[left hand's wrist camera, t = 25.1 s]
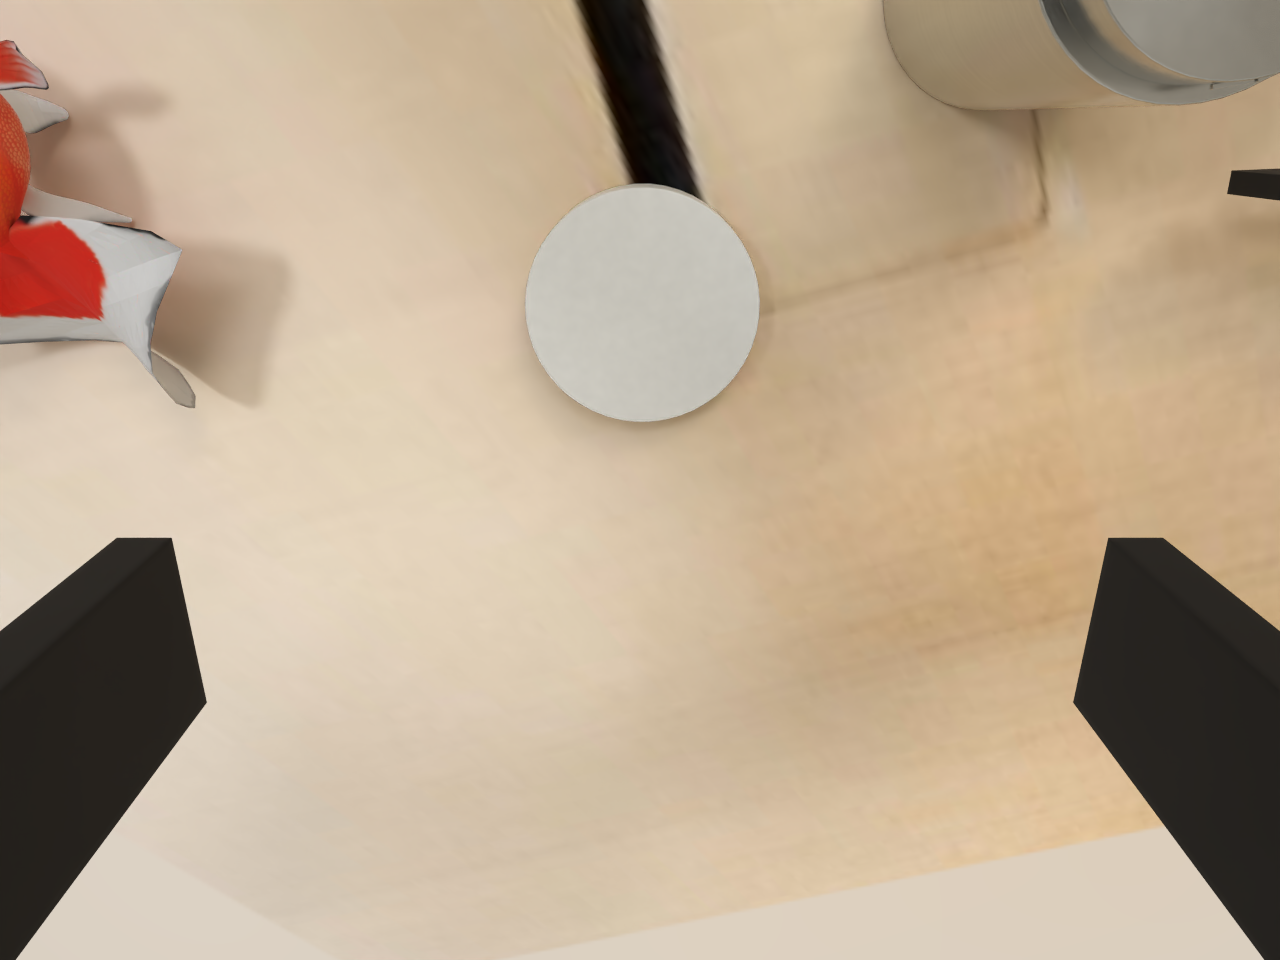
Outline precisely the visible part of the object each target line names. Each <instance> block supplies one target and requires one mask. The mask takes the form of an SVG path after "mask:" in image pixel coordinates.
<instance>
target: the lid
mask: <svg viewBox="0 0 1280 960" xmlns="http://www.w3.org/2000/svg"><path fill="white" fill-rule="evenodd" d="M759 310H760V298H759V286H758V282H757V277H756V273H755V270H754V267H753V264H752V261H751V259H750V256H749V254H748V252H747V250H746V249H745V247H744V245H743V243H742V241H741V240H740V239H739V237H738V236H737V234H736V233H735V232H734V230H733V229H732V228H731V227H730V225H729V224H728V223H727V222H726V221H725V220H724V219H723V218H722V217H721V216H720V215H719V214H718V213H717V212H716V211H715V210H714V209H712V208H711V207H710V206H709V205H707V204H706V203H704V202H703V201H701V200H699V199H698V198H696V197H694V196H693V195H690V194H688V193H686V192H683V191H681V190H678V189H675V188H671V187H668V186H663V185H656V184H629V185H622V186H617V187H614V188H610V189H607V190H604V191H601V192H599V193H597V194H595V195H592V196H590V197H589V198H587V199H585V200H584V201H582V202H580V203H579V204H577V205H576V206H575V207H574V208H572V209H571V210H570V211H569V212H568V213H566V214H565V215H564V217H563V218H562V219H561V220H560V221H559V222H558V223H557V224H556V225H555V226H554V228H553V229H552V230H551V232H550V233H549V234H548V236H547V237H546V239H545V240H544V242H543V243H542V245H541V247H540V248H539V250H538V252H537V254H536V256H535V258H534V261H533V264H532V267H531V270H530V272H529V277H528V282H527V286H526V296H525V313H526V322H527V328H528V333H529V336H530V339H531V343H532V346H533V348H534V351H535V353H536V355H537V357H538V359H539V361H540V363H541V364H542V366H543V367H544V369H545V371H546V372H547V374H548V375H549V376H550V377H551V379H552V380H553V381H554V382H555V383H556V385H557V386H558V387H559V388H561V389H562V390H563V391H564V392H565V393H566V394H567V395H568V396H569V397H571V398H572V399H574V400H575V401H576V402H578V403H579V404H581V405H583V406H585V407H586V408H588V409H590V410H592V411H594V412H597V413H599V414H602V415H604V416H607V417H611V418H615V419H619V420H625V421H634V422H651V421H659V420H666V419H670V418H673V417H677V416H680V415H683V414H685V413H688V412H690V411H693V410H695V409H696V408H698V407H700V406H702V405H704V404H706V403H707V402H708V401H710V400H711V399H712V398H714V397H715V396H716V395H718V394H719V393H720V392H721V391H722V390H723V389H724V388H725V387H726V386H727V385H728V384H729V383H730V382H731V381H732V379H733V378H734V377H735V376H736V375H737V373H738V372H739V370H740V369H741V367H742V365H743V364H744V362H745V361H746V359H747V356H748V354H749V352H750V350H751V348H752V345H753V342H754V339H755V336H756V332H757V327H758V321H759Z"/></svg>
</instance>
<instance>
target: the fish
mask: <svg viewBox="0 0 1280 960" xmlns="http://www.w3.org/2000/svg"><path fill="white" fill-rule="evenodd" d="M18 88H38V89H46V90H47V89H48V88H49V87H48V83H47V81H46V79H45V77H44V75H43V73H42V71H40V70H39V69H38V68H37V67H36V66H35V65H34V64H33V63H32V62H30V61H29V60H28V59H27V58H26V57H25V56H24V55H23V54H22V53H21V51H20V50H19V48H18V47H17V46H16V44H15V43H14V41H9V40H5V41H1V42H0V344H13V343H30V342H47V341H81V340H100V341H113V342H123V343H124V344H125V345H126V346H127V347H128V348H129V349H130V350H131V351H132V352H133V353H134V354H135V356H136V357H137V358H138V359H139V360H140V361H141V363H142V364H143V365H144V367H145V368H146V369H147V371H148V372H149V373H150V374H151V375H152V376H153V377H154V378H155V379H156V380H157V382H158V383H159V384H160V385H161V386H162V388H163V389H164V390H165V391H166V392H167V393H168V395H169V396H170V397H171V398H172V399H173V400H174V401H175V402H176V403H177V404H180V405H182V406H185V407H189V408H195V394H194V392H193V391H192V389H191V387H190V386H189V384H188V382H187V381H186V380H185V378H184V377H183V375H182V374H181V372H180V371H179V370H178V369H177V368H176V367H174V366H173V365H171V364H170V363H169V362H167V361H166V360H164V359H163V358H162V357H160V356H158V355H157V354H155V353H154V352H152V351H151V346H150V345H151V339H152V334H153V329H154V324H155V319H156V313H157V310H158V308H159V305H160V303H161V300H162V298H163V296H164V293H165V291H166V289H167V286H168V284H169V281H170V279H171V277H172V274H173V272H174V269H175V267H176V264H177V262H178V259H179V257H180V255H181V252H182V249H181V248H179V247H177V246H175V245H174V244H172V243H170V242H169V241H167V240H165V239H163V238H162V237H160V236H158V235H157V234H155V233H153V232H151V231H146V230H140V229H135V228H129V227H123V226H117V225H111V224H105V223H99V222H122V223H130V222H132V218H130V217H127V216H124V215H121V214H118V213H115V212H112V211H109V210H107V209H104V208H101V207H98V206H95V205H92V204H89V203H86V202H82V201H78V200H74V199H69V198H65V197H60V196H56V195H53V194H49V193H46V192H44V191H41V190H39V189H36V188H35V187H33V186H31V185H30V184H28V183H29V179H30V169H31V164H30V153H29V147H28V142H27V138H26V134H25V132H28V133H37V132H39V131H41V130H43V129H45V128H47V127H49V126H51V125H53V124H56V123H59V122H62V121H64V120H67V119H68V117H69V115H68V112H67V111H66V110H65V109H64V108H63V107H61V106H58V105H56V104H54V103H51V102H49V101H46V100H43V99H40V98H38V97H35V96H32V95H29V94H26V93H24V92H20V91H16V90H10V89H18ZM21 210H22V211H23V212H25V213H26V214H28V215H30V216H21V215H20V214H21Z"/></svg>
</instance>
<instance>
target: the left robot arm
mask: <svg viewBox="0 0 1280 960" xmlns="http://www.w3.org/2000/svg"><path fill="white" fill-rule="evenodd" d="M206 703H207V701H206V697H205V692H204V687H203V683H202V678H201V673H200V669H199V664H198V659H197V655H196V650H195V645H194V640H193V636H192V631H191V626H190V622H189V617H188V612H187V608H186V603H185V598H184V594H183V589H182V584H181V580H180V575H179V570H178V565H177V561H176V556H175V551H174V547H173V542H172V538H116V539H115V540H114V541H112V542H111V543H110V544H109V545H107V546H106V547H105V548H104V549H102V550H101V551H100V552H99V553H97V554H96V555H95V556H94V557H92V558H91V559H90V560H89V561H87V562H86V563H85V564H84V565H82V566H81V567H80V568H79V569H77V570H76V571H75V572H74V573H72V574H71V575H70V576H69V577H67V578H66V579H65V580H64V581H62V582H61V583H60V584H59V585H57V586H56V587H55V588H54V589H52V590H51V591H50V592H49V593H47V594H46V595H45V596H44V597H42V598H41V599H40V600H39V601H37V602H36V603H35V604H34V605H32V606H31V607H30V608H29V609H27V610H26V611H25V612H24V613H22V614H21V615H20V616H19V617H17V618H16V619H15V620H14V621H12V622H11V623H10V624H9V625H7V626H6V627H5V628H4V629H2V630H1V631H0V960H16V959H17V957H18V956H19V955H20V953H21V952H22V950H23V949H24V948H25V946H26V945H27V944H28V942H29V941H30V940H31V938H32V937H33V936H34V934H35V933H36V932H37V930H38V929H39V928H40V926H41V925H42V924H43V922H44V921H45V920H46V918H47V917H48V915H49V914H50V913H51V911H52V910H53V909H54V907H55V906H56V905H57V903H58V902H59V901H60V899H61V898H62V897H63V895H64V894H65V893H66V891H67V890H68V889H69V887H70V886H71V885H72V883H73V882H74V880H75V879H76V878H77V876H78V875H79V874H80V872H81V871H82V870H83V868H84V867H85V866H86V864H87V863H88V862H89V860H90V859H91V858H92V856H93V855H94V854H95V852H96V851H97V850H98V848H99V847H100V845H101V844H102V843H103V841H104V840H105V839H106V837H107V836H108V835H109V833H110V832H111V831H112V829H113V828H114V827H115V825H116V824H117V823H118V821H119V820H120V819H121V817H122V816H123V815H124V813H125V812H126V811H127V809H128V808H129V806H130V805H131V804H132V802H133V801H134V800H135V798H136V797H137V796H138V794H139V793H140V792H141V790H142V789H143V788H144V786H145V785H146V784H147V782H148V781H149V780H150V778H151V777H152V776H153V774H154V773H155V772H156V770H157V769H158V767H159V766H160V765H161V763H162V762H163V761H164V759H165V758H166V757H167V755H168V754H169V753H170V751H171V750H172V749H173V747H174V746H175V745H176V743H177V742H178V741H179V739H180V738H181V737H182V735H183V734H184V732H185V731H186V730H187V728H188V727H189V726H190V724H191V723H192V722H193V720H194V719H195V718H196V716H197V715H198V714H199V712H200V711H201V710H202V708H203V707H204V706H205V704H206ZM1073 703H1074V704H1075V706H1076V707H1077V708H1078V710H1079V711H1080V712H1081V714H1082V715H1083V716H1084V718H1085V719H1086V720H1087V722H1088V723H1089V724H1090V726H1091V727H1092V728H1093V730H1094V731H1095V732H1096V734H1097V735H1098V737H1099V738H1100V739H1101V741H1102V742H1103V743H1104V745H1105V746H1106V747H1107V749H1108V750H1109V751H1110V753H1111V754H1112V755H1113V757H1114V758H1115V759H1116V761H1117V762H1118V763H1119V765H1120V766H1121V767H1122V769H1123V770H1124V772H1125V773H1126V774H1127V776H1128V777H1129V778H1130V780H1131V781H1132V782H1133V784H1134V785H1135V786H1136V788H1137V789H1138V790H1139V792H1140V793H1141V794H1142V796H1143V797H1144V798H1145V800H1146V801H1147V802H1148V804H1149V805H1150V806H1151V808H1152V809H1153V811H1154V812H1155V813H1156V815H1157V816H1158V817H1159V819H1160V820H1161V821H1162V823H1163V824H1164V825H1165V827H1166V828H1167V829H1168V831H1169V832H1170V833H1171V835H1172V836H1173V837H1174V839H1175V840H1176V841H1177V843H1178V844H1179V845H1180V847H1181V848H1182V850H1183V851H1184V852H1185V854H1186V855H1187V856H1188V858H1189V859H1190V860H1191V862H1192V863H1193V864H1194V866H1195V867H1196V868H1197V870H1198V871H1199V872H1200V874H1201V875H1202V876H1203V878H1204V879H1205V881H1206V882H1207V883H1208V885H1209V886H1210V887H1211V889H1212V890H1213V891H1214V893H1215V894H1216V895H1217V897H1218V898H1219V899H1220V901H1221V902H1222V903H1223V905H1224V906H1225V907H1226V909H1227V910H1228V911H1229V913H1230V914H1231V916H1232V917H1233V918H1234V920H1235V921H1236V922H1237V924H1238V925H1239V926H1240V928H1241V929H1242V930H1243V932H1244V933H1245V934H1246V936H1247V937H1248V938H1249V940H1250V941H1251V942H1252V944H1253V945H1254V946H1255V948H1256V949H1257V950H1258V952H1259V953H1260V954H1261V956H1262V957H1263V959H1264V960H1280V631H1279V630H1278V629H1276V628H1275V627H1274V626H1273V625H1271V624H1270V623H1269V622H1268V621H1266V620H1265V619H1264V618H1263V617H1261V616H1260V615H1259V614H1258V613H1256V612H1255V611H1254V610H1253V609H1251V608H1250V607H1249V606H1248V605H1246V604H1245V603H1244V602H1243V601H1241V600H1240V599H1239V598H1238V597H1236V596H1235V595H1234V594H1233V593H1231V592H1230V591H1229V590H1228V589H1226V588H1225V587H1224V586H1223V585H1221V584H1220V583H1219V582H1218V581H1216V580H1215V579H1214V578H1213V577H1211V576H1210V575H1209V574H1208V573H1206V572H1205V571H1204V570H1203V569H1201V568H1200V567H1199V566H1198V565H1196V564H1195V563H1194V562H1193V561H1191V560H1190V559H1189V558H1188V557H1186V556H1185V555H1184V554H1183V553H1181V552H1180V551H1179V550H1178V549H1176V548H1175V547H1174V546H1173V545H1171V544H1170V543H1169V542H1168V541H1166V540H1165V539H1164V538H1108V542H1107V547H1106V551H1105V556H1104V561H1103V565H1102V570H1101V575H1100V580H1099V584H1098V589H1097V594H1096V598H1095V603H1094V608H1093V612H1092V617H1091V622H1090V626H1089V631H1088V636H1087V640H1086V645H1085V650H1084V655H1083V659H1082V664H1081V669H1080V673H1079V678H1078V683H1077V687H1076V692H1075V697H1074V701H1073Z"/></svg>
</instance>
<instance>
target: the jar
mask: <svg viewBox="0 0 1280 960" xmlns="http://www.w3.org/2000/svg"><path fill="white" fill-rule="evenodd" d="M883 9H884V18H885V25H886V29H887V33H888V38H889V41H890V43H891V46H892V49H893V51H894V54H895V56H896V57H897V59H898V61H899V63H900V65H901V66H902V68H903V69H904V70H905V72H906V73H907V75H908V76H909V77H910V78H911V79H912V80H913V81H914V82H915V83H916V84H917V85H918V86H919V87H920V88H921V89H922V90H923V91H925V92H926V93H928V94H929V95H930V96H932V97H934V98H936V99H937V100H939V101H941V102H943V103H946V104H949V105H951V106H954V107H958V108H963V109H968V110H1020V109H1058V108H1096V107H1134V106H1172V105H1187V104H1197V103H1203V102H1207V101H1212V100H1216V99H1220V98H1224V97H1227V96H1230V95H1232V94H1235V93H1238V92H1240V91H1243V90H1246V89H1248V88H1250V87H1252V86H1254V85H1256V84H1258V83H1260V82H1262V81H1264V80H1266V79H1268V78H1269V77H1272V76H1274V75H1276V74H1278V73H1280V0H883Z"/></svg>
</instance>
